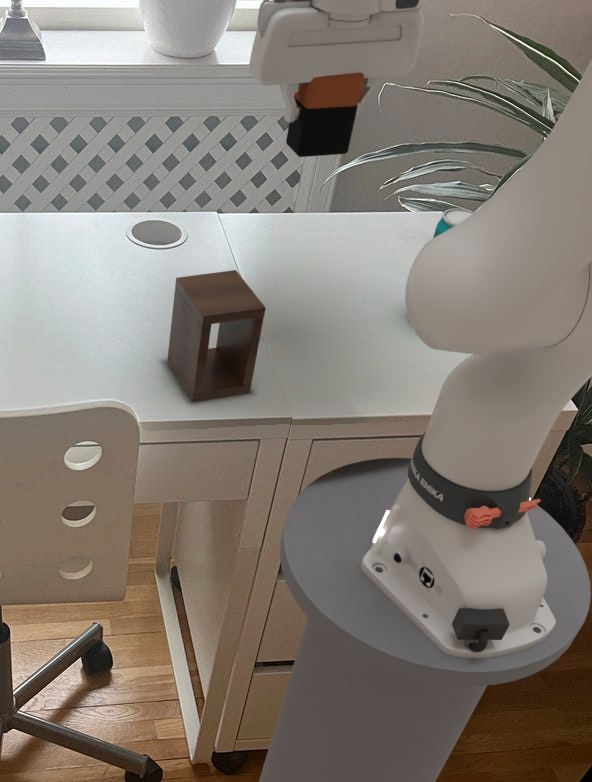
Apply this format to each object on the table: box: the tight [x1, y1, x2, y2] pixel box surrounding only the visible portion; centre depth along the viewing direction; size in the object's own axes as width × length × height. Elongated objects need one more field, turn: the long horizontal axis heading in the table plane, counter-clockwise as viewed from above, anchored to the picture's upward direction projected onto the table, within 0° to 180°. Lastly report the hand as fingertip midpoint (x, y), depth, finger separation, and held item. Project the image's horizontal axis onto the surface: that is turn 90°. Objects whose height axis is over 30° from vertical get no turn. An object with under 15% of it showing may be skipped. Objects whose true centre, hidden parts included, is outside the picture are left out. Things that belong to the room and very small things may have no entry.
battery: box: [285, 73, 364, 158], centre depth 119 cm, size 4×7×10 cm, turn 105°
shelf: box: [166, 269, 267, 403], centre depth 125 cm, size 9×8×12 cm
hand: (322, 118), depth 120 cm, fingers closed on battery, 7 cm apart
